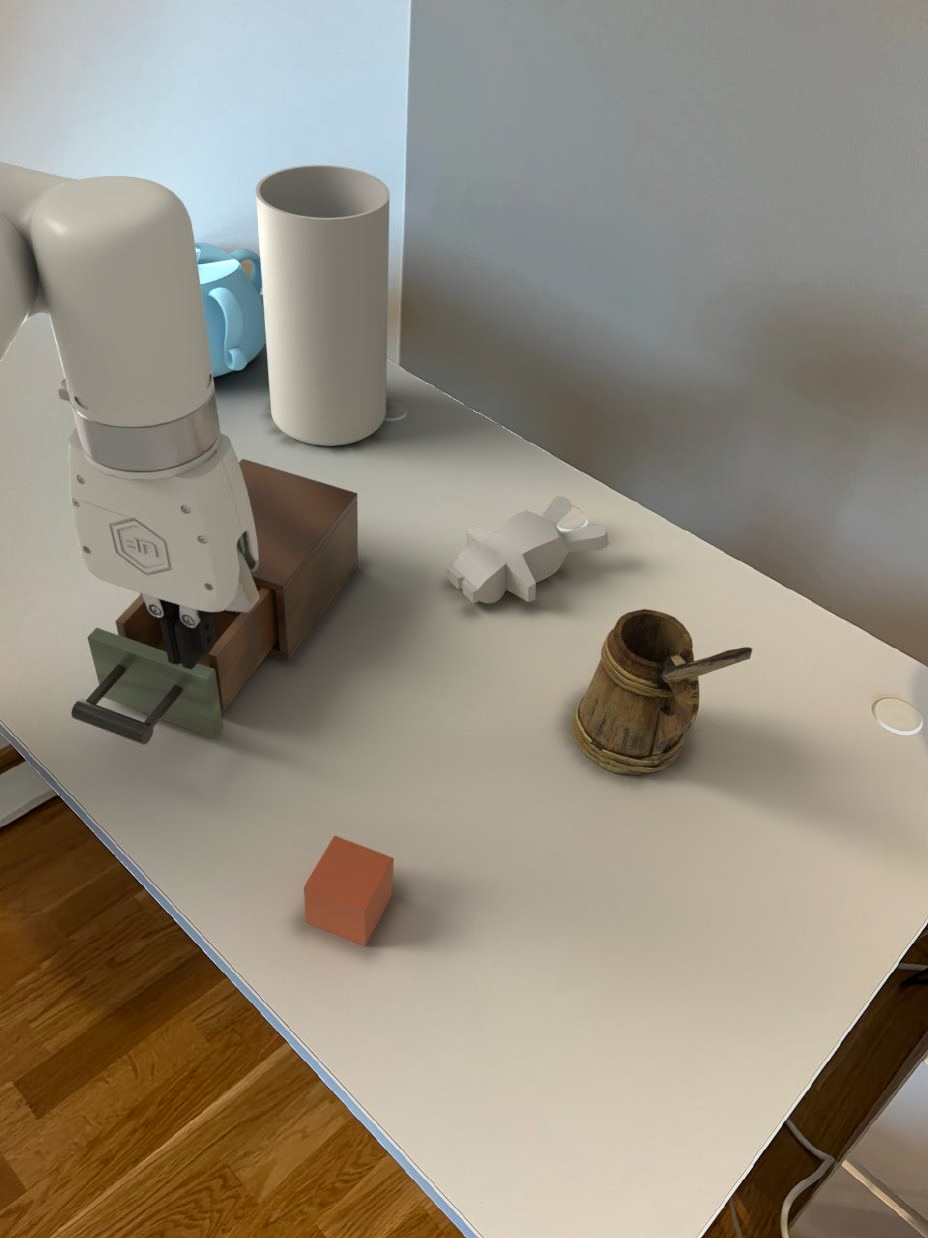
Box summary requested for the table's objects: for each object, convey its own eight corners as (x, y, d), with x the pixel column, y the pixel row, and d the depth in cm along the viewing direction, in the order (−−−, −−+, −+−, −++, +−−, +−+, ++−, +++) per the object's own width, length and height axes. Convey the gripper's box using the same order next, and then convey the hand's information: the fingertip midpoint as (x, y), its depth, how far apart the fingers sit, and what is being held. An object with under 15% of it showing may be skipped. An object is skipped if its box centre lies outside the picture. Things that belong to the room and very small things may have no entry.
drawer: (176, 791, 79) (164, 732, 75) (58, 746, 82) (39, 685, 77) (292, 636, 92) (288, 577, 87) (187, 601, 94) (178, 541, 89)
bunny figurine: (428, 538, 98) (555, 471, 103) (431, 577, 101) (553, 511, 107) (491, 597, 92) (621, 524, 98) (492, 636, 96) (617, 563, 102)
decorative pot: (243, 405, 119) (233, 291, 109) (104, 384, 120) (82, 269, 110) (285, 334, 130) (279, 226, 121) (158, 315, 131) (142, 206, 122)
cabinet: (288, 660, 91) (283, 586, 85) (170, 620, 94) (157, 544, 88) (358, 566, 100) (357, 492, 94) (249, 531, 103) (242, 458, 97)
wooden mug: (626, 834, 80) (674, 670, 68) (554, 705, 89) (585, 539, 77) (728, 805, 83) (793, 642, 70) (649, 682, 92) (694, 518, 79)
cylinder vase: (249, 409, 118) (229, 182, 101) (340, 374, 124) (336, 155, 107) (316, 463, 112) (307, 230, 94) (408, 423, 118) (416, 199, 101)
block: (305, 923, 73) (303, 887, 70) (335, 871, 76) (334, 834, 73) (365, 947, 72) (365, 912, 69) (392, 893, 75) (394, 857, 72)
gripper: (-11, 422, 58) (63, 658, 70) (235, 490, 54) (265, 725, 67) (73, 356, 63) (127, 588, 76) (302, 415, 59) (318, 646, 72)
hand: (192, 652), depth 71 cm, fingers closed
